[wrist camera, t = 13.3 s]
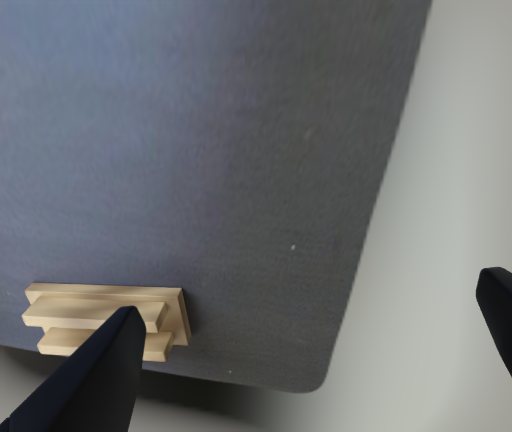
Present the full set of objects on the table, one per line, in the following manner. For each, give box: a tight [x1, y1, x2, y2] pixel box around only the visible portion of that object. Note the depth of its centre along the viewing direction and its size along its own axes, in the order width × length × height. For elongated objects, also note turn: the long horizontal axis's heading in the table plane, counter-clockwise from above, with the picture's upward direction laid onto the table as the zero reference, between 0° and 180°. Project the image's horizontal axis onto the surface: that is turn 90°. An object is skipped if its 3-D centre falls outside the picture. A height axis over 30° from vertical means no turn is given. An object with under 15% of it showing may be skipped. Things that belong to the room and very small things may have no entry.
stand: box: [22, 283, 192, 362], centre depth 28 cm, size 12×5×3 cm, turn 94°
